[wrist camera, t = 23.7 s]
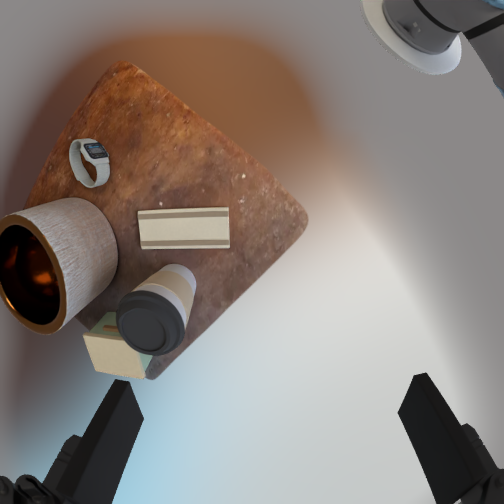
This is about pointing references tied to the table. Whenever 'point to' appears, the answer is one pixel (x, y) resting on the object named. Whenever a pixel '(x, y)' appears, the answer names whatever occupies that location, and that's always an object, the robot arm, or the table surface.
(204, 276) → the table surface
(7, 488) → the robot arm
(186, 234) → the grooved cream trim piece
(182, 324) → the coffee cup
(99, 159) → the wristwatch
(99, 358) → the bread box
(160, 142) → the table surface
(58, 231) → the planter
